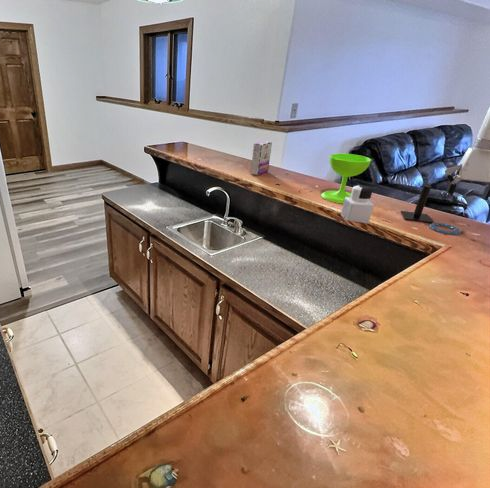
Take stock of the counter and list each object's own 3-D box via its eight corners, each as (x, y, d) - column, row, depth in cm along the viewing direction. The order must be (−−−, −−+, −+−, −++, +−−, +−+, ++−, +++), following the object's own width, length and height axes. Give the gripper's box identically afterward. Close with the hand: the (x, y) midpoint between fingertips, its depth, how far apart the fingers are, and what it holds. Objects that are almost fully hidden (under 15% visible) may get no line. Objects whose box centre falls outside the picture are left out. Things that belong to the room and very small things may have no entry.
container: (360, 216, 136) (369, 184, 131) (368, 224, 130) (378, 190, 124) (340, 215, 137) (348, 183, 131) (347, 223, 130) (356, 189, 124)
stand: (426, 217, 137) (438, 184, 131) (431, 226, 129) (445, 191, 123) (399, 214, 140) (410, 181, 134) (404, 222, 132) (416, 187, 126)
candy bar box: (260, 170, 197) (264, 140, 190) (268, 172, 194) (272, 142, 187) (249, 174, 190) (253, 143, 183) (257, 175, 187) (262, 144, 179)
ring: (454, 229, 127) (456, 224, 126) (463, 239, 119) (465, 234, 118) (425, 225, 130) (426, 220, 129) (431, 234, 122) (433, 229, 121)
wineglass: (339, 190, 166) (349, 152, 158) (368, 201, 152) (380, 160, 144) (313, 194, 160) (321, 154, 152) (340, 205, 147) (351, 163, 139)
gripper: (518, 145, 110) (493, 197, 118) (452, 140, 116) (433, 190, 123) (529, 150, 104) (503, 204, 112) (460, 144, 109) (439, 196, 117)
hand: (466, 196), depth 117 cm, fingers open, 9 cm apart
